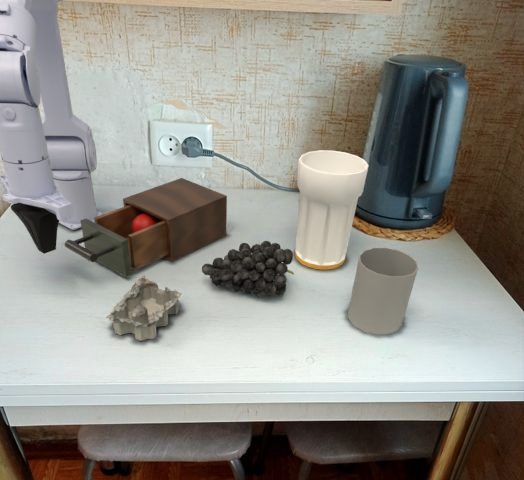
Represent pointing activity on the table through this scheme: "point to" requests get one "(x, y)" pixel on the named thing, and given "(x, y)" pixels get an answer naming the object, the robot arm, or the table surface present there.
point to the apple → (143, 222)
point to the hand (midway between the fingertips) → (47, 249)
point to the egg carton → (144, 309)
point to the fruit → (252, 269)
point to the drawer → (121, 241)
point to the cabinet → (185, 214)
